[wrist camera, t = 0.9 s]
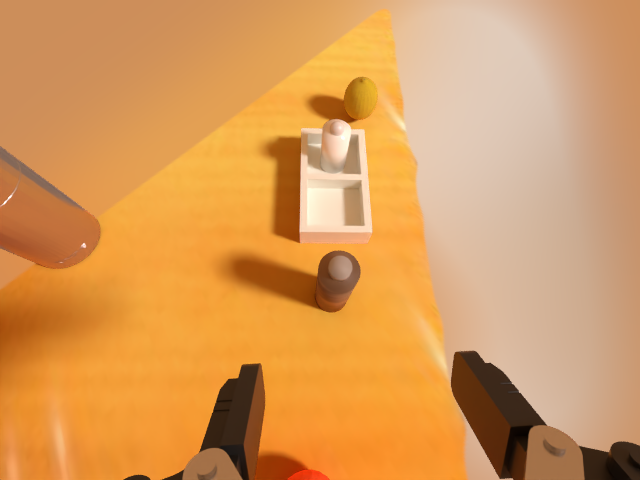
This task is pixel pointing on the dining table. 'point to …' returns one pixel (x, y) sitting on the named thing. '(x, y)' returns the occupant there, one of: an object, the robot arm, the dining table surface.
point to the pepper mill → (336, 280)
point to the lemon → (360, 98)
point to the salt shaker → (334, 145)
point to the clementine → (308, 475)
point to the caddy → (334, 193)
